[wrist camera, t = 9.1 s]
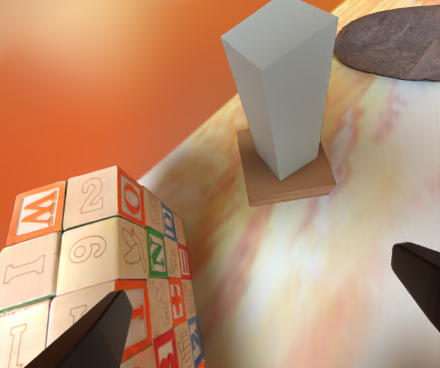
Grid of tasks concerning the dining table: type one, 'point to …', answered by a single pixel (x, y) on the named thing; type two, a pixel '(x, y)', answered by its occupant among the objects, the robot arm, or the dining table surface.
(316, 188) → the base block
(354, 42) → the perforated stone tool
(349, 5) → the dining table surface
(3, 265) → the stack of blocks
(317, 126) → the column
